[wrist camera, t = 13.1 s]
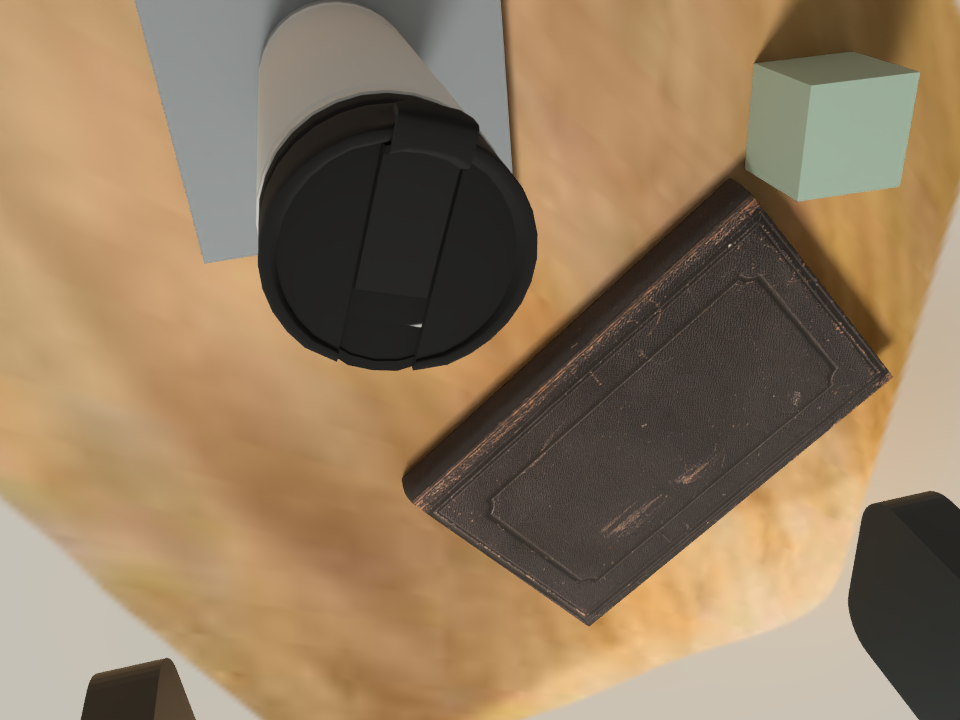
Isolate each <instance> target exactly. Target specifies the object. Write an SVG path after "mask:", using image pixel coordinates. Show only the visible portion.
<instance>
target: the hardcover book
mask: <svg viewBox="0 0 960 720" xmlns="http://www.w3.org/2000/svg"><path fill="white" fill-rule="evenodd" d="M891 378H893V376H892V375H891V373H890V372H889V371H888V369H887V368H886V367H885V366H884V364H883V363H882V362H881V360H880V359H879V358H878V357H877V355H876V354H875V353H874V351H873V350H872V349H871V347H870V346H869V345H868V344H867V342H866V341H865V340H864V338H863V337H862V336H861V335H860V333H859V332H858V331H857V329H856V328H855V327H854V326H853V324H852V323H851V322H850V320H849V319H848V318H847V317H846V315H845V314H844V313H843V311H842V310H841V309H840V307H839V306H838V305H837V304H836V302H835V301H834V300H833V298H832V297H831V296H830V295H829V293H828V292H827V291H826V289H825V288H824V287H823V286H822V284H821V283H820V282H819V280H818V279H817V278H816V277H815V275H814V274H813V273H812V271H811V270H810V269H809V267H808V266H807V265H806V264H805V262H804V261H803V260H802V258H801V257H800V256H799V255H798V253H797V252H796V251H795V249H794V248H793V247H792V246H791V244H790V243H789V242H788V240H787V239H786V238H785V237H784V235H783V234H782V233H781V231H780V230H779V229H778V228H777V226H776V225H775V224H774V222H773V221H772V220H771V218H770V217H769V216H768V215H767V213H766V212H765V211H764V209H763V208H762V207H761V206H760V204H759V203H758V202H757V200H756V199H755V198H754V197H753V196H752V195H751V194H750V193H749V192H748V191H747V190H746V189H745V188H744V187H743V186H742V185H740V184H739V183H737V182H736V181H734V180H733V179H729V180H727V181H726V182H725V183H724V184H723V185H722V186H721V187H720V188H719V189H718V190H717V191H715V192H714V193H713V194H712V195H711V196H710V197H709V198H708V199H707V200H706V201H705V202H703V203H702V204H701V205H700V206H699V207H698V208H697V209H696V210H695V211H694V212H693V213H691V214H690V215H689V216H688V217H687V218H686V219H685V220H684V221H683V222H682V223H681V224H679V225H678V226H677V227H676V228H675V229H674V230H673V231H672V232H671V233H670V234H669V235H667V236H666V237H665V238H664V239H663V240H662V241H661V242H660V243H659V244H658V245H657V246H655V247H654V248H653V249H652V250H651V251H650V252H649V253H648V254H647V255H646V256H645V257H643V258H642V259H641V260H640V261H639V262H638V263H637V264H636V265H635V266H634V267H633V268H631V269H630V270H629V271H628V272H627V273H626V274H625V275H624V276H623V277H622V278H621V279H619V280H618V281H617V282H616V283H615V284H614V285H613V286H612V287H611V288H610V289H609V290H607V291H606V292H605V293H604V294H603V295H602V296H601V297H600V298H599V299H598V300H597V301H595V302H594V303H593V304H592V305H591V306H590V307H589V308H588V309H587V310H586V311H585V312H583V313H582V314H581V315H580V316H579V317H578V318H577V319H576V320H575V321H574V322H573V323H571V324H570V325H569V326H568V327H567V328H566V329H565V330H564V331H563V332H562V333H561V334H559V335H558V336H557V337H556V338H555V339H554V340H553V341H552V342H551V343H550V344H549V345H547V346H546V347H545V348H544V349H543V350H542V351H541V352H540V353H539V354H538V355H537V356H535V357H534V358H533V359H532V360H531V361H530V362H529V363H528V364H527V365H526V366H525V367H523V368H522V369H521V370H520V371H519V372H518V373H517V374H516V375H515V376H514V377H513V378H511V379H510V380H509V381H508V382H507V383H506V384H505V385H504V386H503V387H502V388H501V389H499V390H498V391H497V392H496V393H495V394H494V395H493V396H492V397H491V398H490V399H489V400H487V401H486V402H485V403H484V404H483V405H482V406H481V407H480V408H479V409H478V410H477V411H475V412H474V413H473V414H472V415H471V416H470V417H469V418H468V419H467V420H466V421H465V422H463V423H462V424H461V425H460V426H459V427H458V428H457V429H456V430H455V431H454V432H453V433H451V434H450V435H449V436H448V437H447V438H446V439H445V440H444V441H443V442H442V443H441V444H439V445H438V446H437V447H436V448H435V449H434V450H433V451H432V452H431V453H430V454H429V455H427V456H426V457H425V458H424V459H423V460H422V461H421V462H420V463H419V464H418V465H417V466H415V467H414V468H413V469H412V470H411V471H410V472H409V473H408V474H407V475H406V476H405V477H403V478H402V483H403V488H404V492H405V494H406V496H407V497H408V499H409V500H410V501H411V502H412V503H413V504H414V505H415V506H417V507H418V508H420V509H421V510H422V511H424V512H425V513H427V514H428V515H430V516H431V517H432V518H434V519H435V520H437V521H438V522H440V523H441V524H442V525H444V526H445V527H447V528H448V529H450V530H451V531H453V532H454V533H455V534H457V535H458V536H460V537H461V538H463V539H464V540H465V541H467V542H468V543H470V544H471V545H473V546H474V547H475V548H477V549H478V550H480V551H481V552H483V553H484V554H485V555H487V556H488V557H490V558H491V559H493V560H494V561H496V562H497V563H498V564H500V565H501V566H503V567H504V568H506V569H507V570H508V571H510V572H511V573H513V574H514V575H516V576H517V577H518V578H520V579H521V580H523V581H524V582H526V583H527V584H529V585H530V586H531V587H533V588H534V589H536V590H537V591H539V592H540V593H541V594H543V595H544V596H546V597H547V598H549V599H550V600H551V601H553V602H554V603H556V604H557V605H559V606H560V607H562V608H563V609H564V610H566V611H567V612H569V613H570V614H572V615H573V616H574V617H576V618H577V619H579V620H580V621H582V622H583V623H584V624H586V625H587V626H590V625H592V624H593V623H594V622H595V621H596V620H598V619H599V618H600V617H601V616H603V615H604V614H605V613H606V612H607V611H609V610H610V609H611V608H612V607H613V606H615V605H616V604H617V603H618V602H620V601H621V600H622V599H623V598H624V597H626V596H627V595H628V594H629V593H631V592H632V591H633V590H634V589H635V588H637V587H638V586H639V585H640V584H642V583H643V582H644V581H645V580H646V579H648V578H649V577H650V576H651V575H652V574H654V573H655V572H656V571H657V570H659V569H660V568H661V567H662V566H663V565H665V564H666V563H667V562H668V561H670V560H671V559H672V558H673V557H674V556H676V555H677V554H678V553H679V552H681V551H682V550H683V549H684V548H685V547H687V546H688V545H689V544H690V543H691V542H693V541H694V540H695V539H696V538H698V537H699V536H700V535H701V534H702V533H704V532H705V531H706V530H707V529H709V528H710V527H711V526H712V525H713V524H715V523H716V522H717V521H718V520H720V519H721V518H722V517H723V516H724V515H726V514H727V513H728V512H729V511H731V510H732V509H733V508H734V507H735V506H737V505H738V504H739V503H740V502H741V501H743V500H744V499H745V498H746V497H748V496H749V495H750V494H751V493H752V492H754V491H755V490H756V489H757V488H759V487H760V486H761V485H762V484H763V483H765V482H766V481H767V480H768V479H770V478H771V477H772V476H773V475H774V474H776V473H777V472H778V471H779V470H780V469H782V468H783V467H784V466H785V465H787V464H788V463H789V462H790V461H791V460H793V459H794V458H795V457H796V456H798V455H799V454H800V453H801V452H802V451H804V450H805V449H806V448H807V447H809V446H810V445H811V444H812V443H813V442H815V441H816V440H817V439H818V438H819V437H821V436H822V435H823V434H824V433H826V432H827V431H828V430H829V429H830V428H832V427H833V426H834V425H835V424H837V423H838V422H839V421H840V420H841V419H843V418H844V417H845V416H846V415H848V414H849V413H850V412H851V411H852V410H854V409H855V408H856V407H857V406H859V405H860V404H861V403H862V402H863V401H865V400H866V399H867V398H868V397H869V396H871V395H872V394H873V393H874V392H876V391H877V390H878V389H879V388H880V387H882V386H883V385H884V384H885V383H887V382H888V381H889V380H890V379H891Z"/></svg>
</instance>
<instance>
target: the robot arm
mask: <svg viewBox="0 0 960 720" xmlns="http://www.w3.org/2000/svg"><path fill="white" fill-rule="evenodd" d="M848 606H849V613H850V617H851V621H852V624H853V627H854V630H855V632H856V634H857V636H858V638H859V640H860V642H861V644H862V646H863V647H864V648H865V650H866V651H867V653H868V654H869V655H870V657H871V658H872V659H873V661H874V662H875V663H876V665H877V666H878V667H879V668H880V670H881V671H882V672H883V674H884V675H885V676H886V678H887V679H888V680H889V681H890V683H891V684H892V685H893V687H894V688H895V689H896V690H897V692H898V693H899V694H900V696H901V697H902V698H903V700H904V701H905V702H906V704H907V705H908V706H909V707H910V709H911V710H912V711H913V713H914V714H915V715H916V717H917V718H918V719H919V720H960V509H959V508H958V507H957V506H956V505H955V504H954V503H952V502H951V501H950V500H949V499H948V498H946V497H945V496H944V495H942V494H940V493H937V492H934V491H928V492H923V493H919V494H914V495H910V496H905V497H901V498H896V499H892V500H888V501H883V502H878V503H874V504H871V505H869V506H868V507H867V508H866V509H865V511H864V513H863V516H862V521H861V526H860V532H859V538H858V544H857V550H856V555H855V561H854V566H853V572H852V578H851V583H850V589H849V597H848ZM81 720H196V719H195V717H194V714H193V711H192V709H191V706H190V704H189V701H188V698H187V696H186V693H185V691H184V688H183V685H182V683H181V680H180V677H179V675H178V672H177V670H176V668H175V665H174V663H173V662H172V661H171V659H169V658H165V659H160V660H156V661H151V662H147V663H142V664H138V665H133V666H129V667H124V668H120V669H115V670H111V671H106V672H102V673H97V674H95V675H94V676H93V677H92V678H91V680H90V683H89V685H88V689H87V693H86V697H85V703H84V707H83V712H82V716H81Z"/></svg>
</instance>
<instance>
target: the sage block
mask: <svg viewBox="0 0 960 720" xmlns="http://www.w3.org/2000/svg"><path fill="white" fill-rule="evenodd" d="M919 76H920V72H919V71H915V70H912V69H909V68H906V67H902V66H899V65H896V64H892V63H889V62H886V61H883V60H879V59H876V58H873V57H870V56H866V55H863V54H860V53H856V52H853V51H852V52H844V53H835V54H827V55H819V56H810V57H802V58H794V59H785V60H777V61H768V62H760V63H754V67H753V79H752V90H751V102H750V113H749V125H748V136H747V147H746V159H745V170H747V171H749V172H750V173H752V174H754V175H755V176H757V177H758V178H760V179H762V180H763V181H765V182H766V183H768V184H770V185H771V186H773V187H775V188H776V189H778V190H779V191H781V192H783V193H784V194H786V195H788V196H789V197H791V198H792V199H794V200H796V201H804V200H811V199H818V198H825V197H831V196H838V195H845V194H852V193H859V192H865V191H872V190H879V189H886V188H893V187H899V186H900V182H901V176H902V171H903V165H904V160H905V154H906V148H907V143H908V137H909V132H910V126H911V120H912V115H913V109H914V104H915V98H916V93H917V87H918V81H919Z"/></svg>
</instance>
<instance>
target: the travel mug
mask: <svg viewBox="0 0 960 720" xmlns="http://www.w3.org/2000/svg"><path fill="white" fill-rule="evenodd" d="M256 226H257V231H258V268H259V273H260V278H261V283H262V289H263V291H264V293H265V296H266V298H267V300H268V303H269V305H270V307H271V309H272V312H273V313H274V314H275V316H276V317H277V318H278V320H279V321H280V323H281V324H282V325H283V327H284V328H285V329H286V331H287V332H288V333H289V334H290V335H292V336H293V337H294V338H295V339H296V340H297V341H298V342H299V343H300V344H301V345H303V346H304V347H305V348H307V349H309V350H311V351H314V352H316V353H318V354H321V355H323V356H325V357H327V358H330V359H332V360H334V361H336V362H337V359H340V360H341V361H343V362H344V363H346V364H347V365H351V366H356V367H361V368H365V369H370V370H391V371H398V370H401V369H404V368H408V367H411V366H412V368H413V370H419V369H425V368H430V367H436V366H442V365H448V364H450V363H452V362H454V361H456V360H458V359H460V358H462V357H464V356H466V355H469V354H470V353H472V352H473V351H475V350H476V349H478V348H479V347H481V346H482V345H483V344H485V343H486V342H488V341H489V340H490V339H491V338H492V337H494V336H495V335H496V334H497V333H498V332H499V331H500V330H501V329H502V328H503V327H504V326H505V325H506V324H507V323H508V321H509V320H510V319H511V317H512V316H513V314H514V313H515V312H516V310H517V309H518V307H519V306H520V304H521V303H522V301H523V299H524V297H525V294H526V292H527V290H528V288H529V286H530V283H531V281H532V277H533V273H534V268H535V264H536V260H537V230H536V225H535V220H534V215H533V210H532V208H531V206H530V203H529V201H528V199H527V197H526V194H525V192H524V190H523V188H522V186H521V185H520V184H519V182H518V181H517V180H516V178H515V177H514V176H513V174H512V173H511V172H510V170H509V169H508V168H507V166H506V165H505V164H504V163H503V162H502V160H501V159H500V158H499V157H498V155H497V154H496V152H495V150H494V148H493V147H492V146H491V144H490V143H489V142H488V140H487V139H486V138H485V136H484V135H483V134H482V132H481V131H480V130H479V124H478V123H477V122H476V121H475V119H474V118H472V117H471V116H469V115H468V114H466V113H465V111H464V110H463V109H462V108H461V107H460V105H459V104H458V103H457V102H456V101H455V99H454V98H453V97H452V96H451V95H450V93H449V92H448V91H447V90H446V89H445V87H444V86H443V85H442V84H441V83H440V81H439V80H438V79H437V78H436V77H435V75H434V74H433V73H432V72H431V71H430V69H429V68H428V67H427V66H426V65H425V63H424V62H423V61H422V60H421V58H420V57H419V56H418V55H417V54H416V52H415V51H414V50H413V49H412V48H411V46H410V45H409V44H408V43H407V42H406V40H405V39H404V38H403V37H402V36H401V34H400V33H399V32H398V31H397V30H396V28H395V27H394V26H393V25H392V24H391V23H390V22H389V21H388V20H387V19H385V18H384V17H383V16H382V15H381V14H379V13H378V12H376V11H374V10H373V9H371V8H369V7H368V6H365V5H362V4H360V3H357V2H354V1H350V0H318V1H315V2H311V3H308V4H305V5H303V6H301V7H299V8H297V9H295V10H294V11H292V12H290V13H289V14H288V15H287V16H286V17H285V18H283V19H282V20H281V21H280V22H279V23H278V24H277V26H276V27H275V28H274V30H273V31H272V32H271V34H270V35H269V37H268V39H267V41H266V44H265V46H264V48H263V50H262V55H261V59H260V63H259V86H258V140H257V195H256Z"/></svg>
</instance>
